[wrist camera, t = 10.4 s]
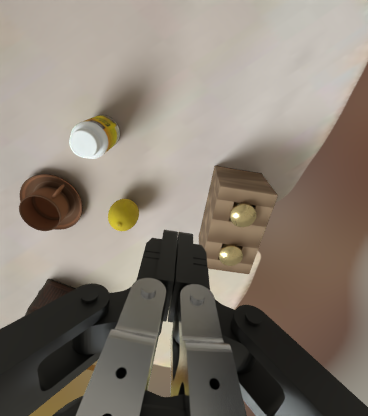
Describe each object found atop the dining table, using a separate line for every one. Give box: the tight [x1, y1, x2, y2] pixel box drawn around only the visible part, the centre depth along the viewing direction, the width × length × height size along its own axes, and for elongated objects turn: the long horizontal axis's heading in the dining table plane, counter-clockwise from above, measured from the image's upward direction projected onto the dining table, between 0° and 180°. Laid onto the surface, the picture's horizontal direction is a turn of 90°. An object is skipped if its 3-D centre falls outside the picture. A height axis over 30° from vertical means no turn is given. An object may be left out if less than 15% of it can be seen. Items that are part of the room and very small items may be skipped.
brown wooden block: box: [199, 166, 278, 274], centre depth 47 cm, size 16×9×10 cm, turn 171°
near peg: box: [230, 202, 256, 227], centre depth 44 cm, size 4×4×10 cm
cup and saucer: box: [19, 174, 82, 231], centre depth 49 cm, size 12×12×6 cm
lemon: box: [108, 199, 139, 231], centre depth 48 cm, size 6×6×8 cm
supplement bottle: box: [69, 115, 120, 159], centre depth 40 cm, size 6×6×10 cm
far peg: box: [219, 243, 243, 266], centre depth 48 cm, size 4×4×10 cm
